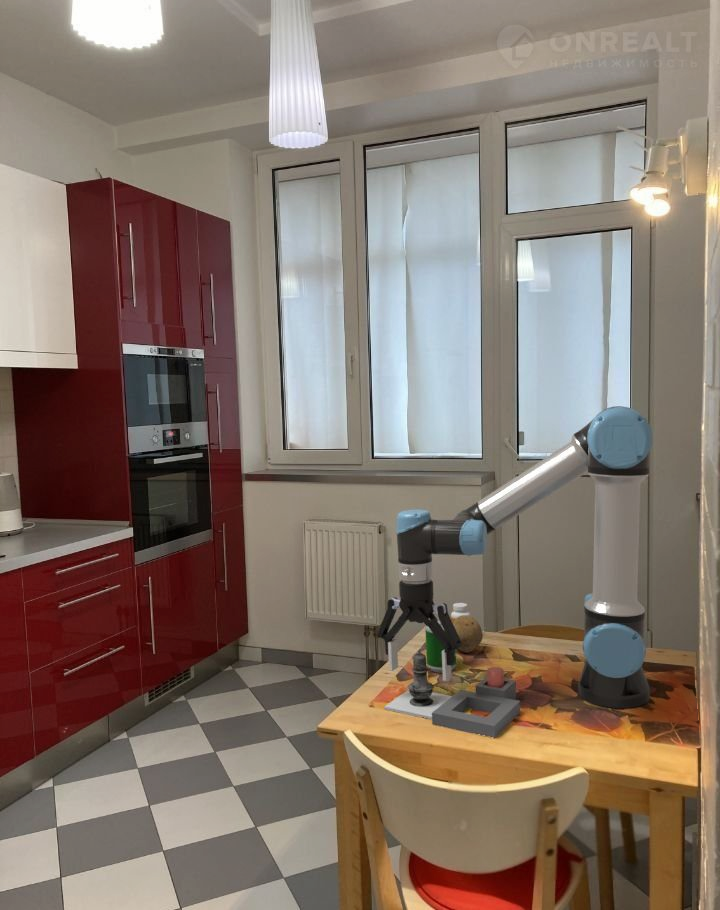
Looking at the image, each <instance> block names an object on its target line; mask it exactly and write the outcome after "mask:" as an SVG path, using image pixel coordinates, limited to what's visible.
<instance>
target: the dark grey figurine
mask: <svg viewBox="0 0 720 910" xmlns="http://www.w3.org/2000/svg"><path fill="white" fill-rule="evenodd" d="M412 660H413V661H412V663H413V664H412V665H413V668H412V669H411V671H412V673H413V682H411V683H409V684H408V685H407V689H408V690H409V692H410V694H411V696H412V697H414V698H412V699H411V700H410V704H411V705H413V706H418V707H425V706H429V705H431V704H432V703H433V700H432V699H431V698H429V697H430V695H431V694H432V692H433V689H434V687H435V686H434V684H433V683H431V682H429V680H428V671H429V667H427V655H426V654H424V653H422V651H421V650H420V649H418V651H417V653H415V654H414V655H413V658H412Z"/></svg>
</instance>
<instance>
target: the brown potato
mask: <svg viewBox="0 0 720 910" xmlns="http://www.w3.org/2000/svg"><path fill="white" fill-rule="evenodd" d="M453 624H454V625H455V629H456V631H457V634H458V636H459V638H460V640H461V642H462V646H461V647H459V648H458V649H459V650H460V651H462V652H463V653H466V654H468V653H472V652H473V651H474V650H475V649H476V648H477V647H478V646H479V645H480V644H481V643H482V641H483V638H484V636H483V634H484V633H483V631H482V628H481V625H480V623H479V622H478V620H477V619H475V618H474V617H472V616H471V615H470V616H467V615H462V616H459V617H457V618H456V619H455V620H454V621H453Z"/></svg>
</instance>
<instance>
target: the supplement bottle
mask: <svg viewBox="0 0 720 910" xmlns="http://www.w3.org/2000/svg"><path fill="white" fill-rule="evenodd" d="M452 609H453V610H452V612H451V614H450V619H451V621H452V623H453V621H454V620H455V619H456V618H457V617H459V616H462V615H467V616H470V617H471V613H470V611H468V604H467V603H464V602H456V603H455V602H454V603H453V604H452Z"/></svg>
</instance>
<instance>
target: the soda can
mask: <svg viewBox="0 0 720 910" xmlns="http://www.w3.org/2000/svg"><path fill="white" fill-rule="evenodd" d="M437 621H438V623H439V624H440V626H441V627H442V628H443V626H442V624H441V622H440V620H439V618H437ZM453 625H454V624H453ZM454 627H455V625H454ZM424 629H425V649H426V650H425V652H426V654H425V656H426V667H427V668H428V669H430V670H429V671H431V672H434V673H438V674H443V671H442V651H443V650H444V648H443V646H442V645H441V643H440V642H439V641H438V639H437V638H436V637H435V635H434V634H433V632H432V631H431V630H430V628H429V627H428V626H426V625H425V628H424ZM443 630H444V628H443ZM456 667H457V649H456V650H454V664H452V665H451V672H453V670H455V668H456Z"/></svg>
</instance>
